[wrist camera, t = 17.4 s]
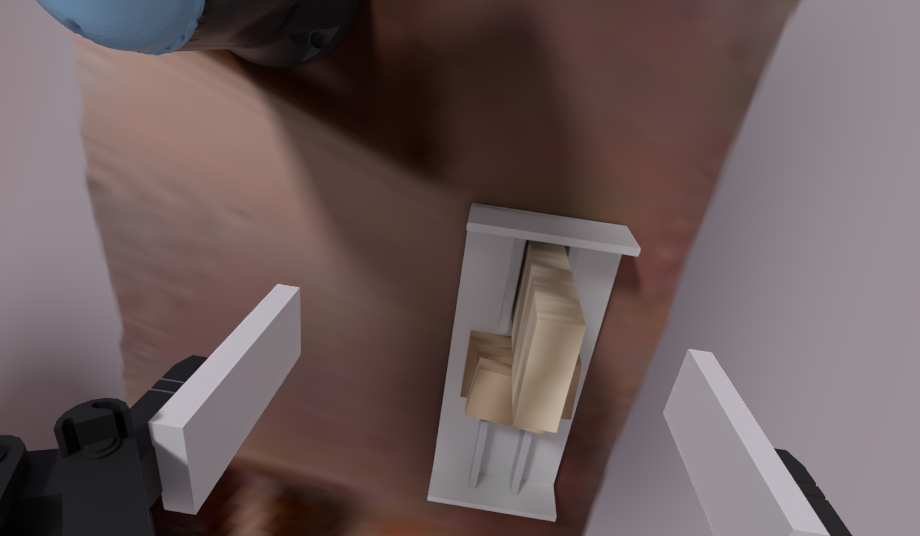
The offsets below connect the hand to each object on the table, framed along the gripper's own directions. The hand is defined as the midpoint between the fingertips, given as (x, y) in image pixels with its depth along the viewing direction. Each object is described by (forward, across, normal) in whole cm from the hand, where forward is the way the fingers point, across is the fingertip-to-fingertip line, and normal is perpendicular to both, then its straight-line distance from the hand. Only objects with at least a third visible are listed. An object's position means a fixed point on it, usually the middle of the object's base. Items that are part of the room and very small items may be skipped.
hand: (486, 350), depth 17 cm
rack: (+35, +6, -24) cm, 43 cm away
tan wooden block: (+34, +6, -13) cm, 36 cm away
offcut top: (+29, +6, -25) cm, 39 cm away
